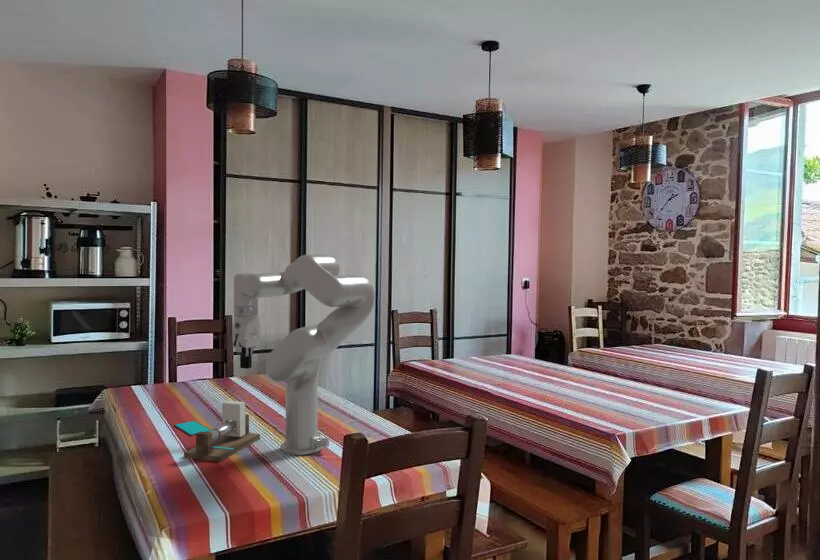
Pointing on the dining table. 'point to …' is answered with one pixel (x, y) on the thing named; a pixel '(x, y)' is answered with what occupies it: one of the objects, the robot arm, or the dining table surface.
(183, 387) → the dining table surface
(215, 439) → the pipe rig
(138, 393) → the dining table surface
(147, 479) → the dining table surface
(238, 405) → the collar
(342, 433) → the dining table surface
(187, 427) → the smartphone
